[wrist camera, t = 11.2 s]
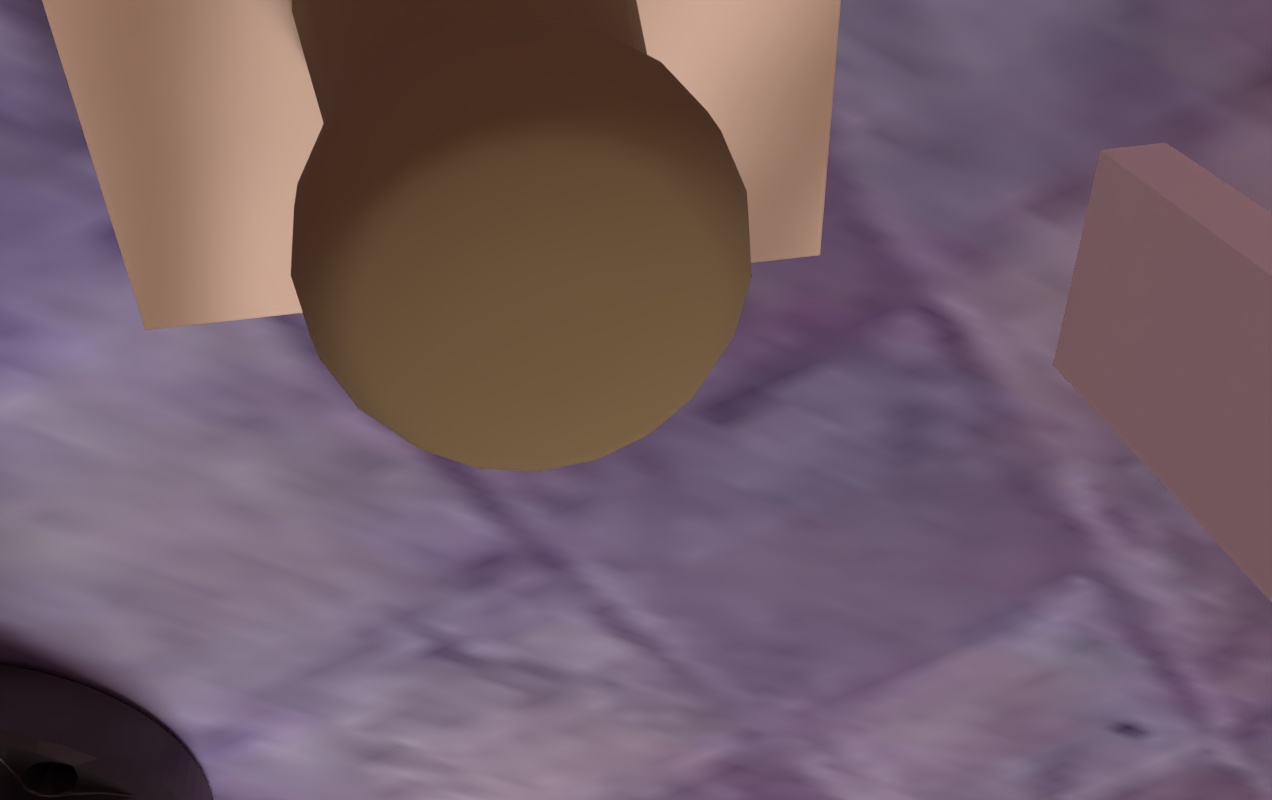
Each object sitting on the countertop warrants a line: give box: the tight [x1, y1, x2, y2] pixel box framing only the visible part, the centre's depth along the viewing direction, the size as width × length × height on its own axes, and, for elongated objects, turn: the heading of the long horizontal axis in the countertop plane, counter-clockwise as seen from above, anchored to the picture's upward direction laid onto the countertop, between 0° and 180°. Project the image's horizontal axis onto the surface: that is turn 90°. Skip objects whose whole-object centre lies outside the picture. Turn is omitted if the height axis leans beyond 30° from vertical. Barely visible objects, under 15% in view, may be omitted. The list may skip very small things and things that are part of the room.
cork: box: [291, 0, 752, 471], centre depth 16 cm, size 6×6×11 cm
